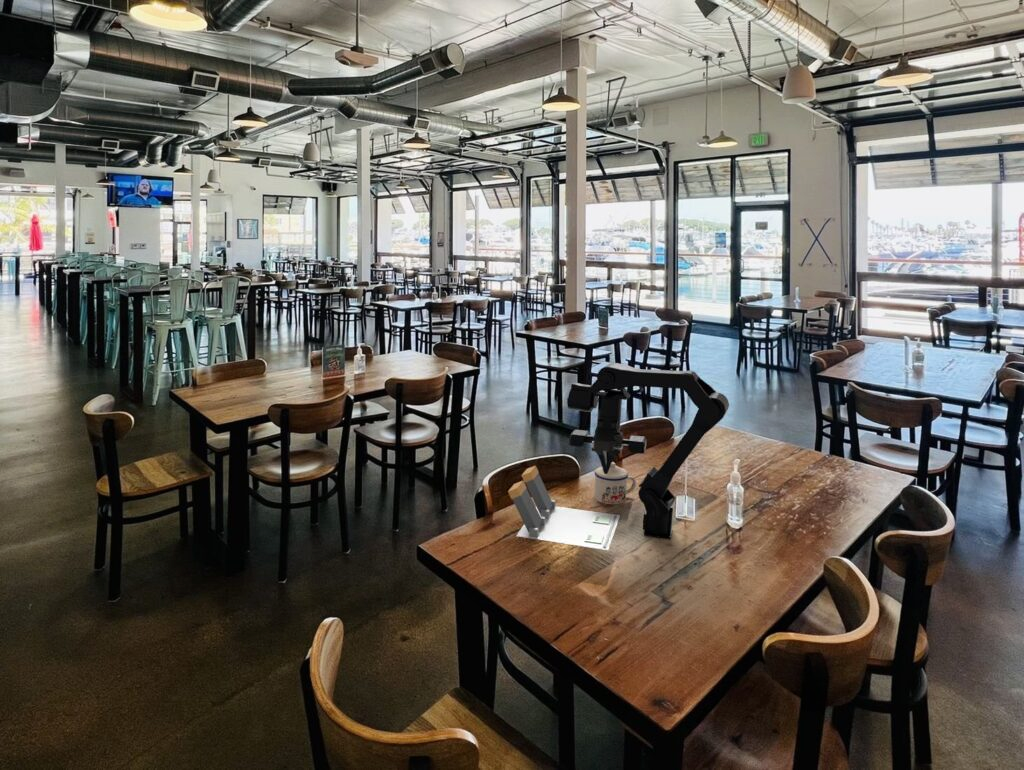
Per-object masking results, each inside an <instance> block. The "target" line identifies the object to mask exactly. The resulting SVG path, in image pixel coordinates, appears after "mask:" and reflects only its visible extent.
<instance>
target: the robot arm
mask: <svg viewBox="0 0 1024 770" xmlns="http://www.w3.org/2000/svg"><path fill="white" fill-rule="evenodd" d="M631 387H642V388H643V387H646V388H662V389H663V388H664V389H665V388H666V389H681V390H683V391H684V392H685V393H686V395H687V396H688V397H689V399H690V401H691V402H692V403H693V405H694V406H695V407H697V409H698V410H697V412H696V413H695V416H694V418H693V420H692V422H691V424H690V426H689V428H688V429H687V431H686V433H685V434H684V435H683V437H682V438H681V439H680V441H679V442H678V443H677V445H676V446H675V448H674V449H673V450H672V452H671V453H670V454H669V456H668V457H667V459H666V460H665V461H664V462H663V464H662V465H661V466H660V467H658V469H656V467H655V466H652V467H651V468H650V470H649V471H648V472H647V474H646V475H645V476H644V478H643V479H642V480H641V481H640V483H639V484H638V487H639V490H638V493H637V494H638V497H639V500H640V502H641V503H642V504H643V507H644V509H645V510H644V511H643V517H642V518H643V519H642V530H643V531H644V532H643V535H644V536H645V537H654V538H660V539H669V540H670V539H671V538H672V534H673V533H672V531H673V517H674V516H673V513H674V507H672V506H673V504H674V502H675V500H676V496H675V495H674V494H673V493H672V492H671V491H670V489H669V488H670V485H671V483H672V481H673V479H674V477H675V474H676V473H677V472H678V471H679V470H680V468H681V466H682V465H683V464H684V463H685V461H686V460H687V458H688V457H689V456H690V455H691V453H692V452H693V451H694V449H695V448H696V446H697V445H698V443H700V441H701V440H702V438H703V437H704V436H705V435H706V434H707V433H708V432H709V431H711V430H712V429H713V428H714V427H715V426H716V425H717V424H719V423H720V421H722V420H723V418H724V417H725V415H726V414H727V412H728V410H729V408H730V404H729V400H728V398H727V396H726V395H724V394H723V393H721V392H717V391H716V390H715V388H713V387H712V386H711V385H710V384H708V383H707V382H706V381H704V379H702V378H701V377H700V376H699V375H698V374H697V373H696V372H695V371H694V370H666V369H641V368H635V367H633V366H629V365H626V364H623V363H619V362H611V363H608V364H607V365H605V366H603V367H602V368H600V369H599V370H598V372H597V375H596V380H595V381H594V382H593V383H592V384H591V385H590V384H585V383H584V384H583V383H579V382H573V383H571V385H570V390H569V392H568V397H567V400H566V404H567V408H568V410H573V411H581V412H588V413H591V412H593V410H594V409H595V410H596V409H597V420H596V427H595V430H594V434H593V435H592V434H589V430H584V429H583V430H582V429H574V430H573V431H572V432H571V434H570V435H569V437H568V439H569V440H568V446H571V447H578V448H580V447H582V446H584V445H585V443H589V444H591V451H592V452H595V453H596V455H597V456H598V459H599V461H600V464H601V467H602V468H603V472H604V474H608V471H609V469H610V466H611V463H612V462H614V461H613V460H614V459H615V457H616V456H617V455H620V454H622V451H623V449H624V447H625V448H627V450H628V451H629V453H632V454H645V451H646V448H647V438H646V436H640V435H630V437H629V439H627V438H624V433H623V432H622V431H621V421H622V420H621V419H622V418H621V417H622V400H623V401H626V400H628V399H629V398H630V397H631V394H630V393H629V392H628V391H627V390H626V389H627V388H631ZM625 388H626V389H625ZM603 390H606V392H605V391H603ZM607 453H608V454H607Z"/></svg>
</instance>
